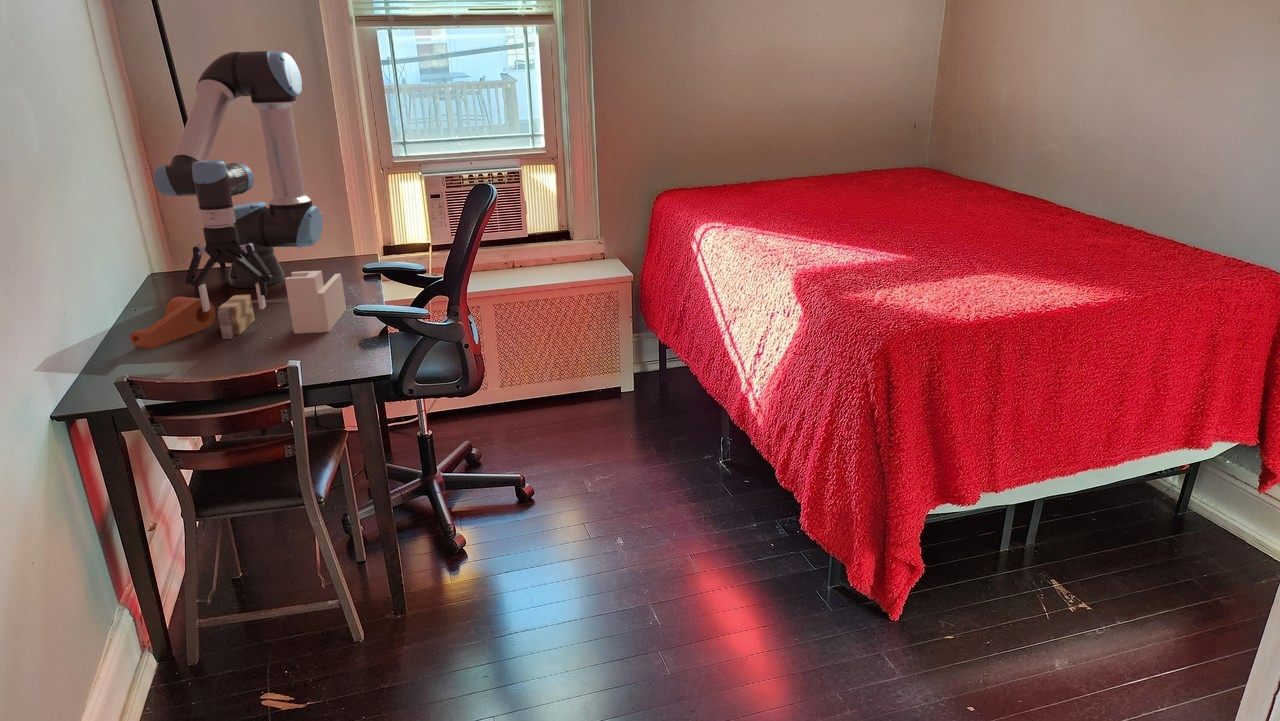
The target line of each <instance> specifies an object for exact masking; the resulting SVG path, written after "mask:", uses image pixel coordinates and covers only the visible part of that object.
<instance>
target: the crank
mask: <svg viewBox="0 0 1280 721" xmlns="http://www.w3.org/2000/svg"><path fill="white" fill-rule="evenodd" d="M209 304H210V310H208V311H207V312H203V308H202V303H201V298H197V297H189V296H175V297H172V298H171V299H170V300H169V301H168V303H167V304H166V307H165V316H163V317H162V318H160V319H159V320H158V321H156V322H155V323H154V324H152V325H150V326H149V327H148V328H146V329H139V330H134V331H132V332H131V333H129V340H130V343H131V344H132V345H133V346H134V347H136V348H137V347H138V348H145V349H146V348H147V349H151V350H152V349H155V348H158V347H161V346H163V345H166V344H168V343H171V342H174V341H176V340H179V339H181V338H185V337H186V336H190V335H192V334H195V333H198V332H200V331H203V330H206V329H209V328H211V327H212V326H213V324H214V322H215V320H216V315H217V314H216V308H215V305H214V304H213V303H212V301H210V300H209Z"/></svg>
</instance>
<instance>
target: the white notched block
mask: <svg viewBox="0 0 1280 721" xmlns="http://www.w3.org/2000/svg"><path fill="white" fill-rule="evenodd" d="M290 273H291V274H290V275H291V276H288V277H285V279H284V282H285V287H286V292H287V293H286V294H287V300H288V305H289V311H290V318H291V324H292V329H293V334H294V335H295V334H309V333H310V334H313V333H330V332H331V330H332V329H333V328H334V326H336V324H337V322H338V321H339V320H340V319H341V317H342V316H343V315H344V313H345V312H346V311H347V305H346V298H345V292H344V285H343V284H344V283H343V278H342V273H334V275H332V277H331V278H330V279H329V280H328V281H327V282H326V283H325V284H324V277H323V271H322V270H307V271H306V270H303V271H292V272H290ZM345 310H346V311H345ZM344 311H345V312H344ZM342 314H343V315H342Z"/></svg>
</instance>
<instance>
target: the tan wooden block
mask: <svg viewBox="0 0 1280 721" xmlns="http://www.w3.org/2000/svg"><path fill="white" fill-rule="evenodd" d="M217 316H218V317H217V318H218V323H219V328H220V332H221V337H222V339H223V340H229V339H230V340H231V339H232V338H234V337H235V336H236V335H237V336H238V335H241V334H242V333H243V332H244V331H245V330H247V329H248V327H250V326H251V325H252V324H253V323H254V322H255V320H256V319H255V313H254V307H253V302H252V296H251V293H249V294H234V295H232V296H231V297H230V298H228V300H226V301H225V302H224V303H222V304H221V305H220V306H218V307H217ZM253 321H254V322H253Z"/></svg>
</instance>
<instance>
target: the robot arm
mask: <svg viewBox="0 0 1280 721" xmlns="http://www.w3.org/2000/svg"><path fill="white" fill-rule="evenodd" d="M298 66H299V65H297V63H296V61H295V60H294V59H293V57H292V56H291V55H290V54H288V53H287V52H285V51H275V50H264V51H261V50H260V51H231V52H227V53H224V54H222V55H221V56H219V57H218V58H215V59H214V60H213V61H212V62H211V63H210V64H209V65H208V66H207V67H206V68H205V69H204V71H203V72H202V73H201V75H200V77H199V78H198V80H197V83H196V85H195V92H196V94H197V96H196V98H195V101H194V103H193V105H192V108H191V111H190V113H189V116H188V119H187V121H186V124H185V126H184V129H183V131H182V134H181V136H180V139H179V141H178V144H177V146H176V149H175V152H174V154H173V156H172V159H171V161H170V163H169V165H168V164H163V165H159V166H158V167H156V168H155V170H154V172H153V173H154V174H153V181H154V185H155V187H156V189H157V190H158V192H159V193H160V194H162V195H164V196H168V197H169V196H171V197H185V196H186V197H187V196H188V197H190V196H191V197H193V196H196V198H197V203H198V210H199V215H200V219H201V225H203V228H202V230H203V237H204V241H205V242H204V243H205V246H203V245H200V244H198V245H195V246H193V247H192V258H191V261H190V264H189V268H188V271H187V274H186V277H185V279H184V283H185V284H186V285H192V286H193V287H194V291H195V296H196V297H195V298H200V299H201V303H202V308H203V312H207V311H208V310H210V304H209V301H210V299H209V295H208V289H207V285H206V283H203V282H204V280H205V279H206V277H207V276H208V275H209V273H210V272H211V270H212V269H213V267H214V266H215V264H216V263H218V265H221V264H224V263H225V264H230V269H229V275H228V280H229V285H230V286H231V287H233V288H238V289H239V288H240V289H247V288H249V289H250V288H255V290H256V291H255V292H256V295H257V302H258V307H259V310H264V309H265V308H266V307H267V303H266V299H265V298H266V297H265V296H267V295H268V288H267V287H268V286H272V285H277V284H278V283H279V284H280V283H281V282H283V281H285V278H286V277H285V272H284V270H283V268H282V265H281V264H280V263H279V260H278V259H277V257H276V255H275V251H274V248H299V249H301V248H304V247H313V246H315V245H316V244H317V243H318V242H319V240H320V239H321V235H322V231H323V214H322V212H321V209H320V208H319V207H318V206H316V205H313V201H312V198H311V197H309V196H308V195H307V194H306V191H305V184H304V179H303V171H302V167H301V166H302V165H301V164H302V163H301V160H300V159H301V158H300V154H299V147H298V140H297V134H296V127H295V126H296V125H295V122H294V114H293V107H294V106H295V105H296V103H297V96H300V95H301V94H302V91H303V88H302V86H303V81H302V75H301V73H300V72H301V71H300V69H299V67H298ZM241 97H250V99H251V105H252V106H254V107H255V108H257V110H258V113H259V119H260V124H261V129H262V135H263V137H262V138H263V142H264V147H265V156H266V159H267V165H268V172H269V178H270V184H271V189H272V195H273V196H272V198H271V199H270V200H269V201H268V206H267V204H266V202H265V201H253V202H248V203H247V202H246V203H242V204H239V205H235V206H234V203H233V199H232V198H233V197H235V196H238V195H243V194H245V193H246V192H248V191H250V190H251V189H252V188H253V186H254V184H255V176H254V172H253V170H252V169H250V167H249V166H248V165H246V164H243V163H240V162H231V163H229V164H228V163H227V164H226V162H225V161H224V160H222V159H210V155H211V153H212V151H213V148H214V144H215V141H216V139H217V137H218V134H219V131H220V129H221V126H222V123H223V120H224V117H225V115H226V112H227V110H228V108H229V107H232V106H233V105H234V102H235V100H236V99H237V98H241ZM204 254H207V255H208V256H209V258H208V260H207V261H206V264H205V265H204V267H203V268H202V269H201V270H200V272H199V273H198V275H197V276H196V274H197V271H198V269H199V266H200V263H201V259H202V258H203V255H204ZM195 277H196V278H195Z"/></svg>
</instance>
